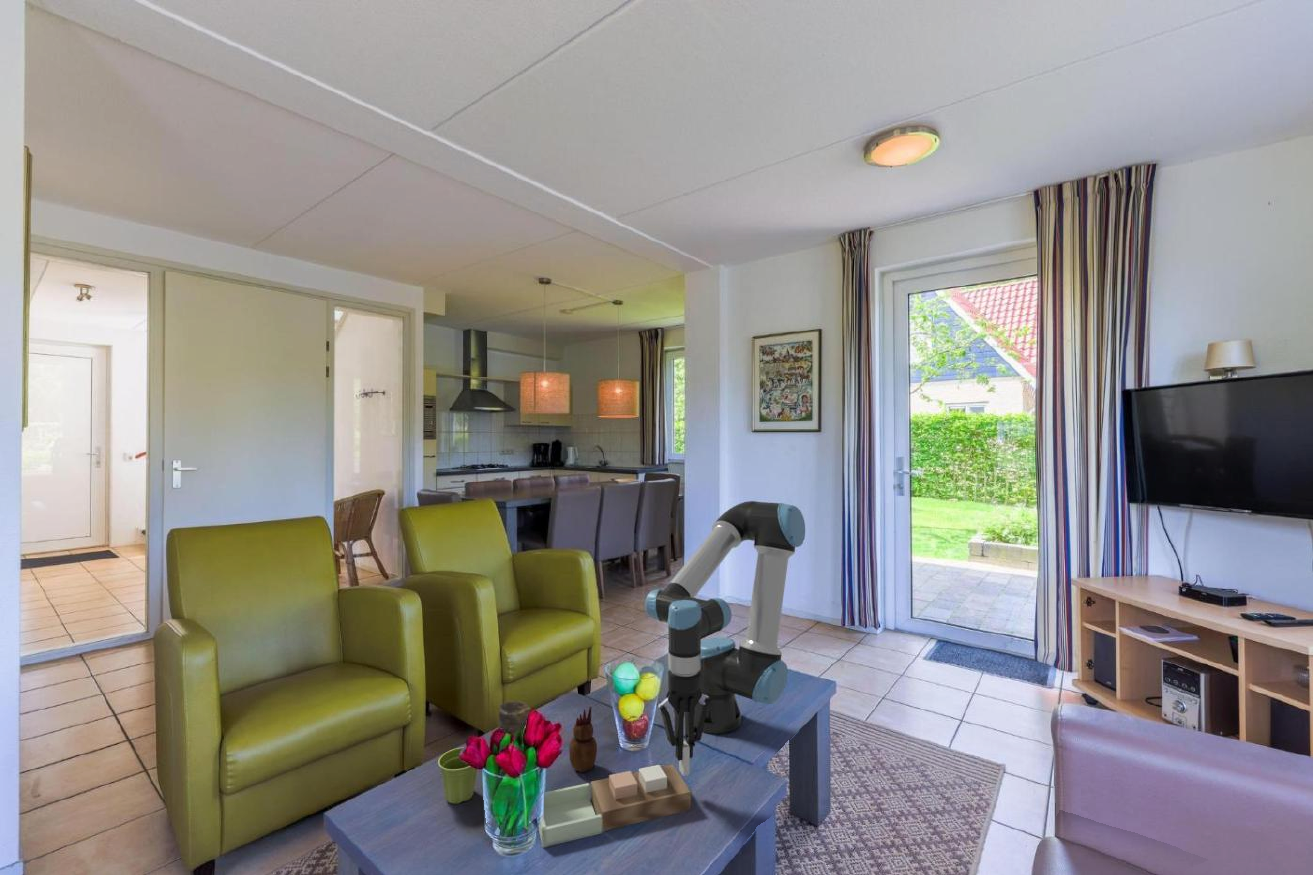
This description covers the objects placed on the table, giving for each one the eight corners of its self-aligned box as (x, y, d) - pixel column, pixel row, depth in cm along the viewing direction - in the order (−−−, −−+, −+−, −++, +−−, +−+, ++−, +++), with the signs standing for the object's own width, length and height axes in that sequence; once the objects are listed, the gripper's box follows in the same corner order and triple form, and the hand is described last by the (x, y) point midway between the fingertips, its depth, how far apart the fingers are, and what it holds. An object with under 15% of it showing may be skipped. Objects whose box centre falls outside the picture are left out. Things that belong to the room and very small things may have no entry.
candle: (501, 782, 135) (501, 699, 134) (532, 781, 135) (533, 697, 135) (495, 803, 127) (495, 714, 127) (528, 801, 128) (528, 713, 127)
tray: (588, 798, 129) (588, 783, 129) (601, 833, 118) (601, 816, 118) (534, 810, 125) (534, 794, 125) (542, 847, 113) (542, 830, 113)
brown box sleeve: (672, 781, 135) (672, 764, 135) (690, 809, 125) (690, 791, 125) (590, 799, 129) (590, 781, 128) (602, 831, 118) (602, 812, 118)
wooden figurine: (598, 762, 143) (598, 703, 143) (594, 775, 137) (594, 714, 137) (572, 760, 144) (572, 701, 144) (566, 774, 138) (566, 712, 138)
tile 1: (630, 781, 129) (630, 770, 129) (637, 794, 124) (637, 783, 124) (609, 786, 127) (609, 775, 127) (615, 799, 122) (615, 788, 122)
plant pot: (452, 780, 135) (452, 744, 135) (488, 785, 134) (488, 748, 134) (429, 806, 126) (429, 767, 126) (468, 811, 124) (468, 772, 124)
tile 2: (659, 775, 131) (659, 764, 131) (666, 788, 126) (667, 776, 126) (638, 779, 129) (638, 768, 129) (645, 792, 125) (645, 781, 125)
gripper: (703, 660, 136) (703, 758, 136) (652, 667, 132) (652, 768, 132) (717, 672, 129) (716, 775, 129) (663, 680, 124) (663, 787, 125)
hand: (684, 772), depth 130 cm, fingers closed
